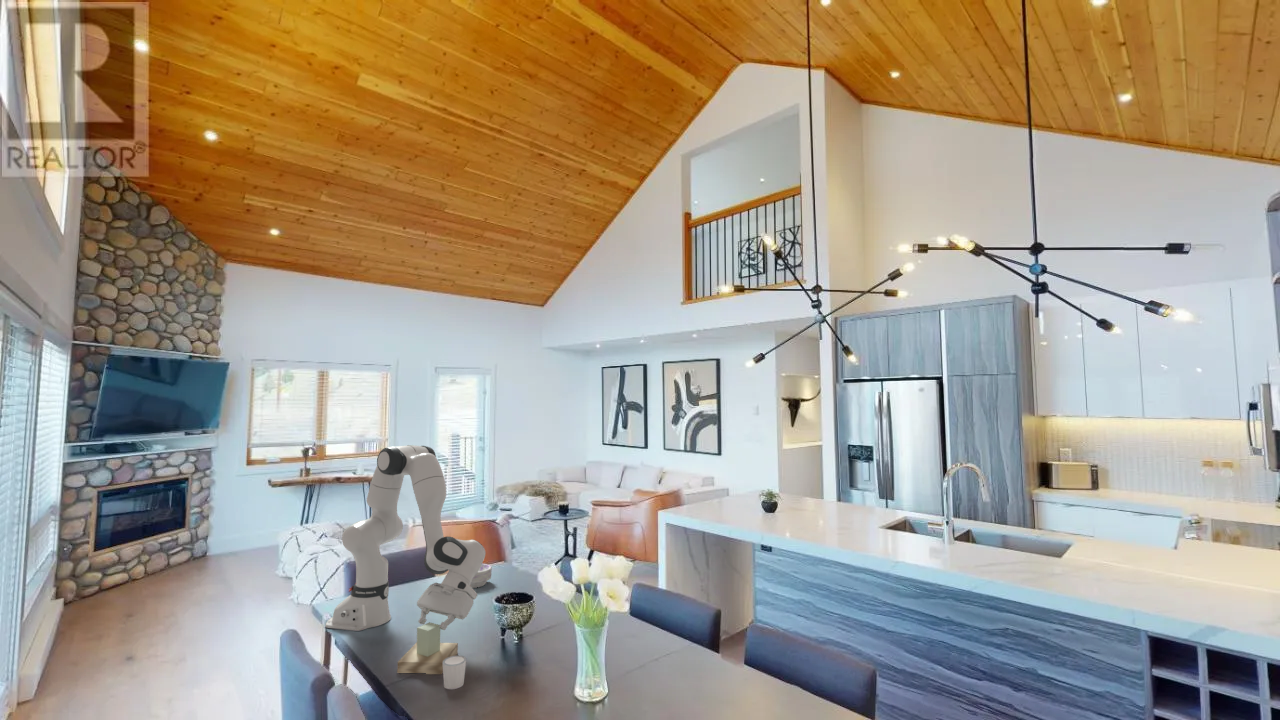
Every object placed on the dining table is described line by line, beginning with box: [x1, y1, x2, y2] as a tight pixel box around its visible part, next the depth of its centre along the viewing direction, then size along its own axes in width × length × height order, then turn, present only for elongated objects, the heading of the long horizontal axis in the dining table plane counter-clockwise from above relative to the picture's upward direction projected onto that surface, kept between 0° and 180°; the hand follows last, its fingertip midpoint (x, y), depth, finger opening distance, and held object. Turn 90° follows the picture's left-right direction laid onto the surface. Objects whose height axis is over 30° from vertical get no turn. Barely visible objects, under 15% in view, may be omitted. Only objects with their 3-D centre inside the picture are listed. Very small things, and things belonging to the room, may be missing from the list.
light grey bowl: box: [470, 563, 492, 589], centre depth 256 cm, size 15×15×8 cm
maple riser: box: [396, 641, 459, 675], centre depth 180 cm, size 14×14×4 cm
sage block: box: [416, 621, 441, 657], centre depth 181 cm, size 5×5×8 cm
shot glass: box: [442, 654, 467, 690], centre depth 167 cm, size 7×7×7 cm
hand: (431, 626), depth 182 cm, fingers open, 8 cm apart
